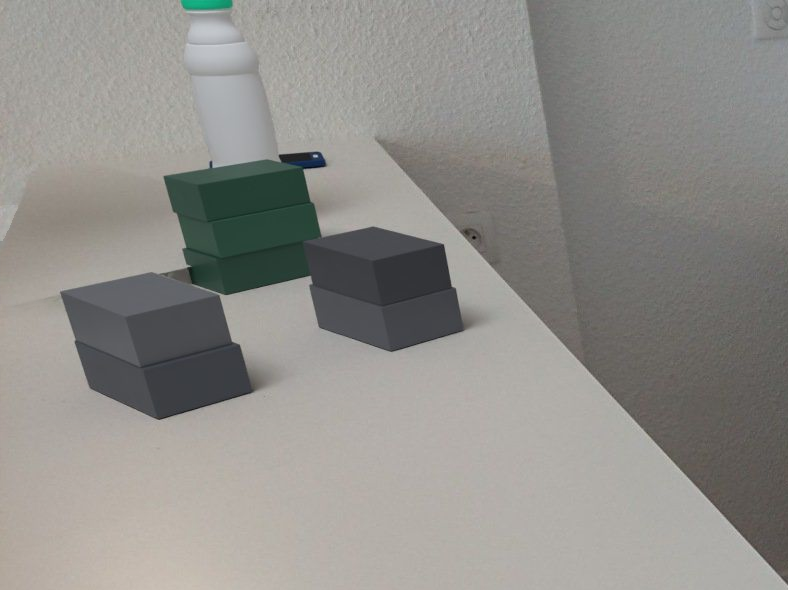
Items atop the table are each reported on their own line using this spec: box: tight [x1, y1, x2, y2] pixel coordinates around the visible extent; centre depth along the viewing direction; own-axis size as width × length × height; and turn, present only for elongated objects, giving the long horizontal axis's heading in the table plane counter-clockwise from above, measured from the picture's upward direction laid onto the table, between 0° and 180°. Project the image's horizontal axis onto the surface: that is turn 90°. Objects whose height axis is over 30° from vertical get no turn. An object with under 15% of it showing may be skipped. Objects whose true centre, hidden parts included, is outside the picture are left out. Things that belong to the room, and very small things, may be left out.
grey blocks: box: [59, 226, 464, 420], centre depth 103 cm, size 26×11×8 cm, turn 144°
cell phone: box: [208, 151, 326, 169], centre depth 173 cm, size 7×14×1 cm, turn 118°
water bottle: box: [180, 0, 281, 168], centre depth 138 cm, size 7×7×25 cm
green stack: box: [176, 201, 323, 295], centre depth 124 cm, size 10×7×7 cm, turn 144°
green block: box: [162, 159, 312, 222], centre depth 122 cm, size 10×6×3 cm, turn 144°
